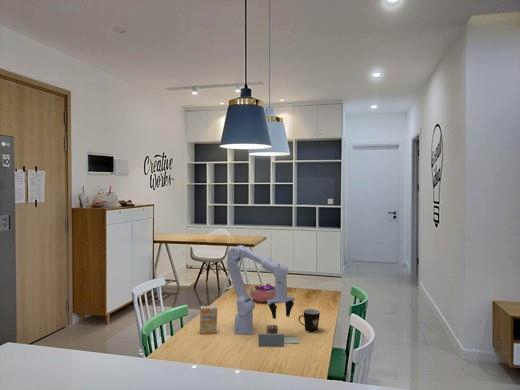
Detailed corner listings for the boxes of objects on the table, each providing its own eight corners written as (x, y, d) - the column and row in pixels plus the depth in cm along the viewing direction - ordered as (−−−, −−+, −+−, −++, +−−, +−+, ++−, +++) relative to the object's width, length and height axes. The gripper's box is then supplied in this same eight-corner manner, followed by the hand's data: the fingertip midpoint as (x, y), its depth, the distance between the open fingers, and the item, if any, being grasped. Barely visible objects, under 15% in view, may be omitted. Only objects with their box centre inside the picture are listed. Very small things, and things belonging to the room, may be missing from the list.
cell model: (244, 299, 264) (244, 282, 264) (271, 296, 272) (271, 280, 272) (254, 306, 249) (255, 288, 249) (282, 303, 257) (283, 285, 257)
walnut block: (267, 340, 191) (267, 328, 191) (266, 337, 196) (266, 324, 196) (277, 340, 191) (277, 328, 191) (276, 337, 196) (276, 324, 196)
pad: (284, 343, 187) (284, 342, 187) (283, 338, 194) (283, 337, 194) (299, 344, 188) (299, 342, 188) (297, 338, 195) (297, 337, 195)
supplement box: (200, 334, 197) (201, 308, 197) (199, 331, 202) (199, 305, 202) (216, 333, 199) (217, 307, 199) (215, 330, 204) (215, 305, 204)
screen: (258, 346, 184) (258, 334, 184) (258, 345, 185) (258, 333, 185) (284, 346, 184) (284, 334, 184) (283, 345, 185) (284, 333, 185)
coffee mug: (317, 327, 211) (318, 309, 211) (321, 333, 202) (321, 314, 202) (296, 327, 210) (296, 308, 210) (298, 333, 202) (298, 313, 202)
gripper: (271, 293, 189) (271, 321, 189) (297, 290, 196) (297, 317, 196) (265, 290, 196) (265, 317, 196) (290, 287, 202) (290, 313, 202)
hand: (281, 317), depth 196 cm, fingers open, 7 cm apart
